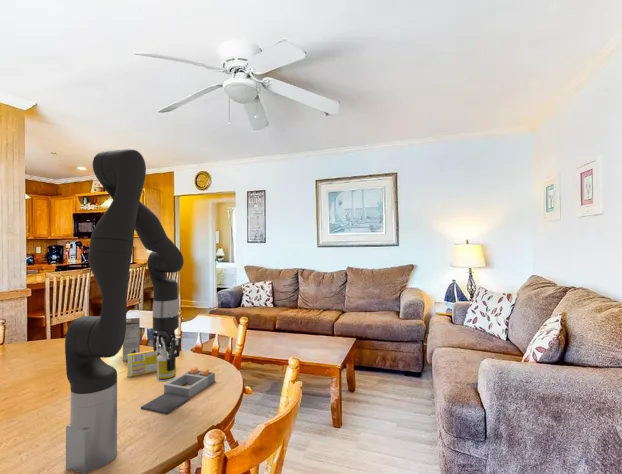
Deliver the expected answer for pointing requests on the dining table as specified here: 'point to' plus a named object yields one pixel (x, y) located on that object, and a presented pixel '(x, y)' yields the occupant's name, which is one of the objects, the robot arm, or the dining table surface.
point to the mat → (165, 403)
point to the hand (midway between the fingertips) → (166, 367)
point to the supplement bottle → (164, 367)
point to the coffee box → (131, 337)
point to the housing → (194, 379)
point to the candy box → (142, 363)
